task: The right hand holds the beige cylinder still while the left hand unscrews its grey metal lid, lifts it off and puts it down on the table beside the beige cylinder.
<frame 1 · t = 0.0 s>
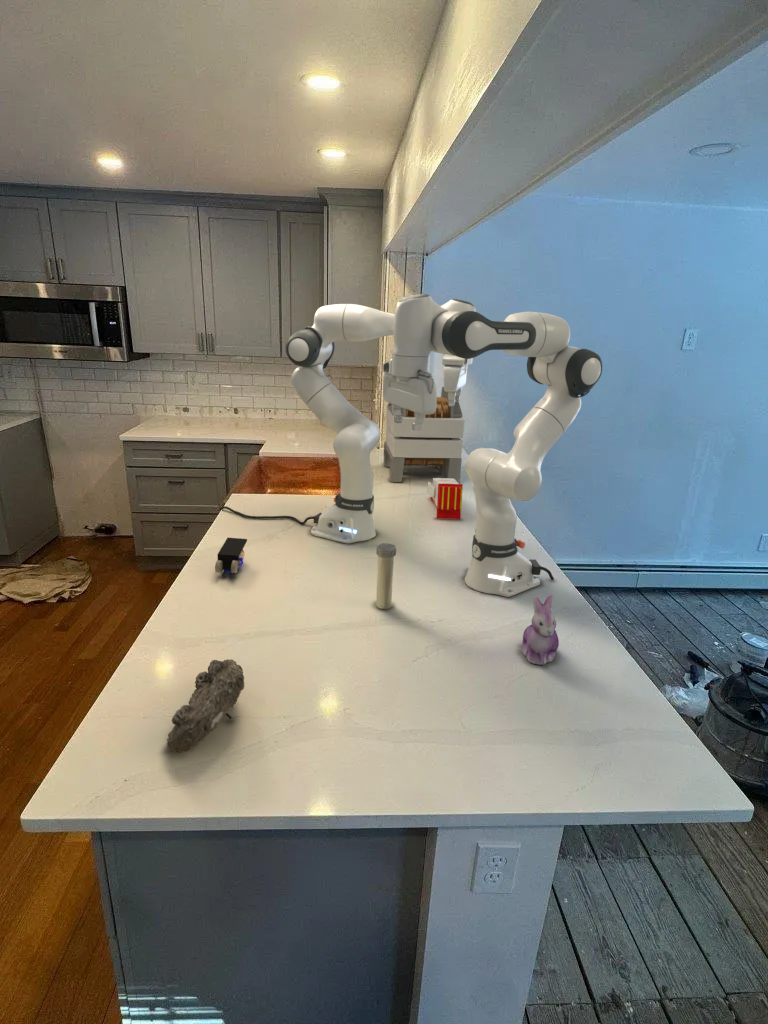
left hand: (454, 403, 174), 48 cm above the counter, tool pointing down, fingers open, 8 cm apart
right hand: (406, 426, 137), 48 cm above the counter, tool pointing down, fingers open, 8 cm apart
lid: (386, 548, 146), point 17 cm above the counter, screwed on, not yet turned
toy: (443, 507, 229), on the counter
figurine character: (232, 569, 168), on the counter
fossil: (212, 717, 108), on the counter
transformer: (419, 473, 275), on the counter
beige cylinder: (383, 605, 152), on the counter
figurine: (539, 655, 133), on the counter
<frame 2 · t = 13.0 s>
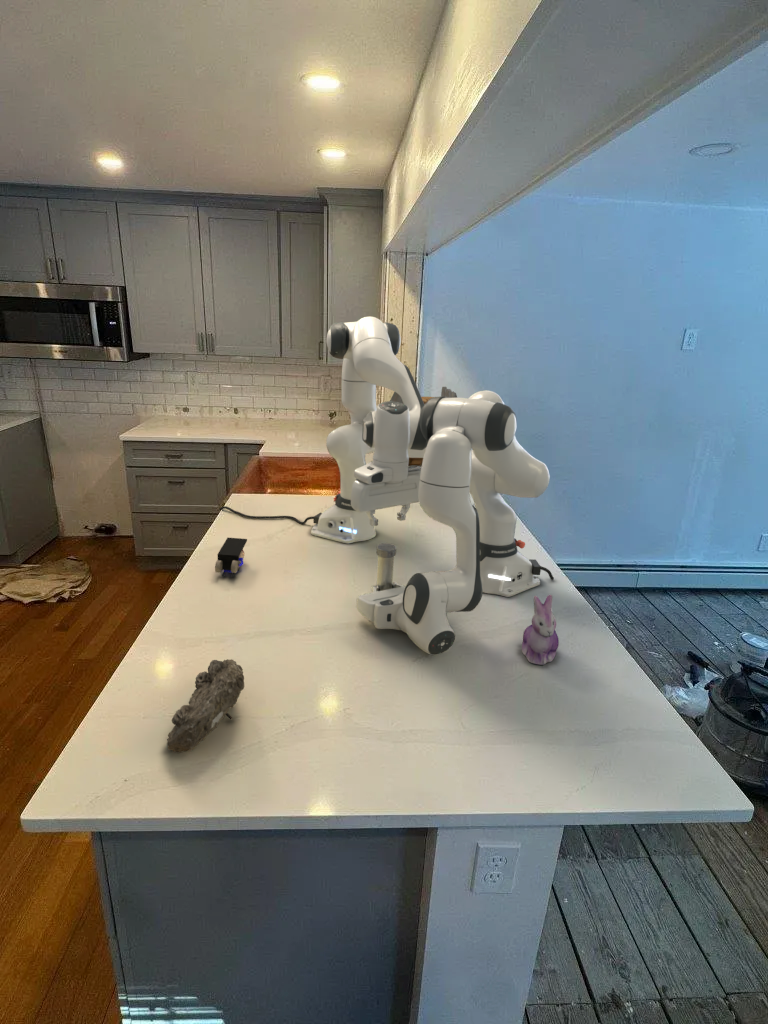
left hand: (387, 522, 144), 24 cm above the counter, tool pointing down, fingers open, 7 cm apart
right hand: (382, 586, 150), 5 cm above the counter, tool horizontal, fingers closed on beige cylinder, 4 cm apart
beige cylinder: (383, 605, 152), on the counter, touching right hand
everything else where it was.
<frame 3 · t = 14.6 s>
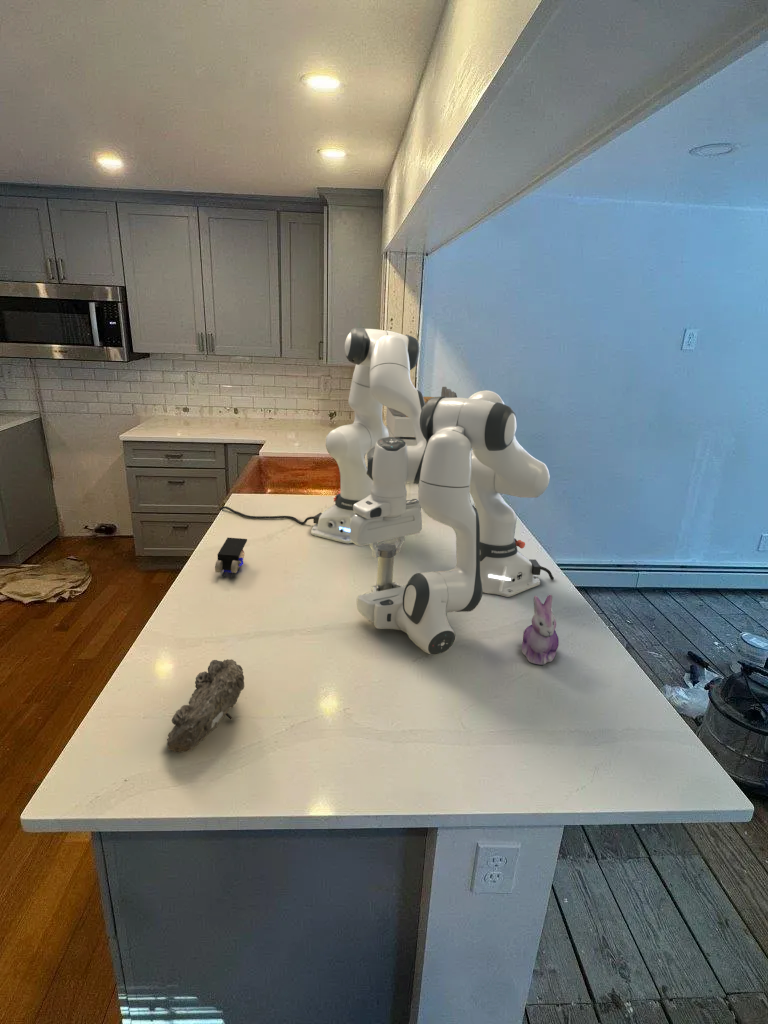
left hand: (386, 554, 146), 15 cm above the counter, tool pointing down, fingers closed on lid, 5 cm apart
right hand: (382, 586, 150), 5 cm above the counter, tool horizontal, fingers closed on beige cylinder, 4 cm apart
lid: (386, 548, 146), point 17 cm above the counter, screwed on, not yet turned, touching left hand
beige cylinder: (383, 605, 151), on the counter, touching right hand
everything else where it was.
when the left hand's fingers open (15 cm above the counter, at t = 16.0 s): lid stays where it is, point 17 cm above the counter.
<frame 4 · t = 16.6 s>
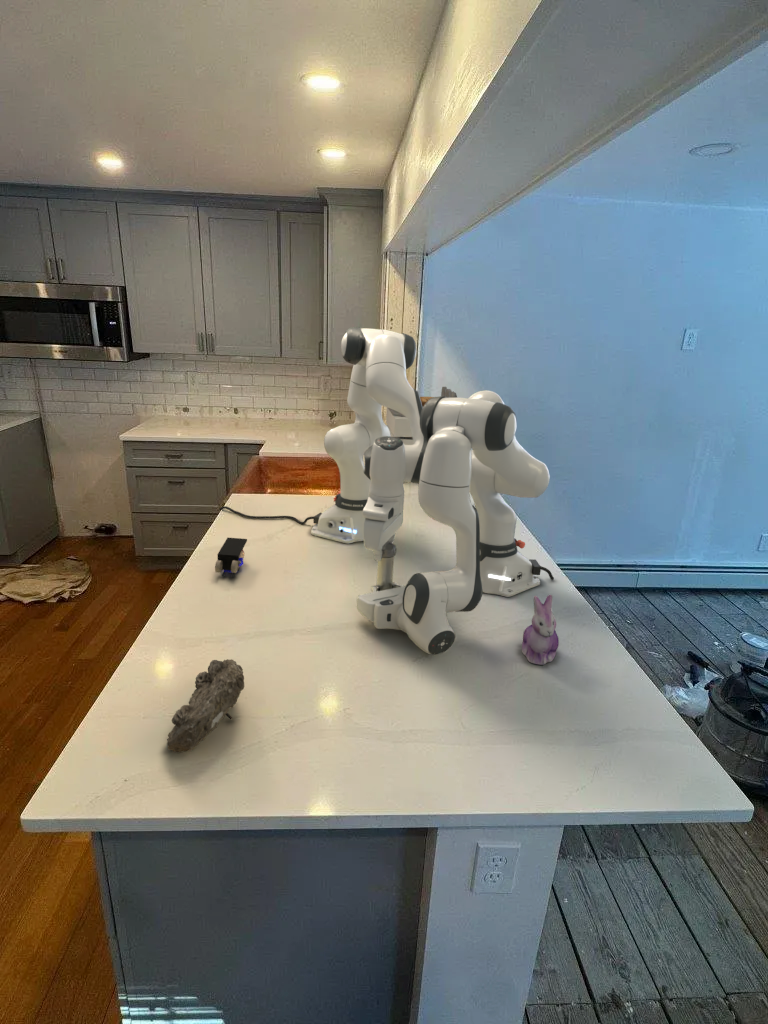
left hand: (383, 553, 146), 15 cm above the counter, tool pointing down, fingers open, 7 cm apart
right hand: (382, 586, 150), 5 cm above the counter, tool horizontal, fingers closed on beige cylinder, 4 cm apart
lid: (386, 547, 146), point 17 cm above the counter, turned 79° so far, risen 0.2 cm, still on its thread
beige cylinder: (383, 605, 152), on the counter, touching right hand
everything else where it was.
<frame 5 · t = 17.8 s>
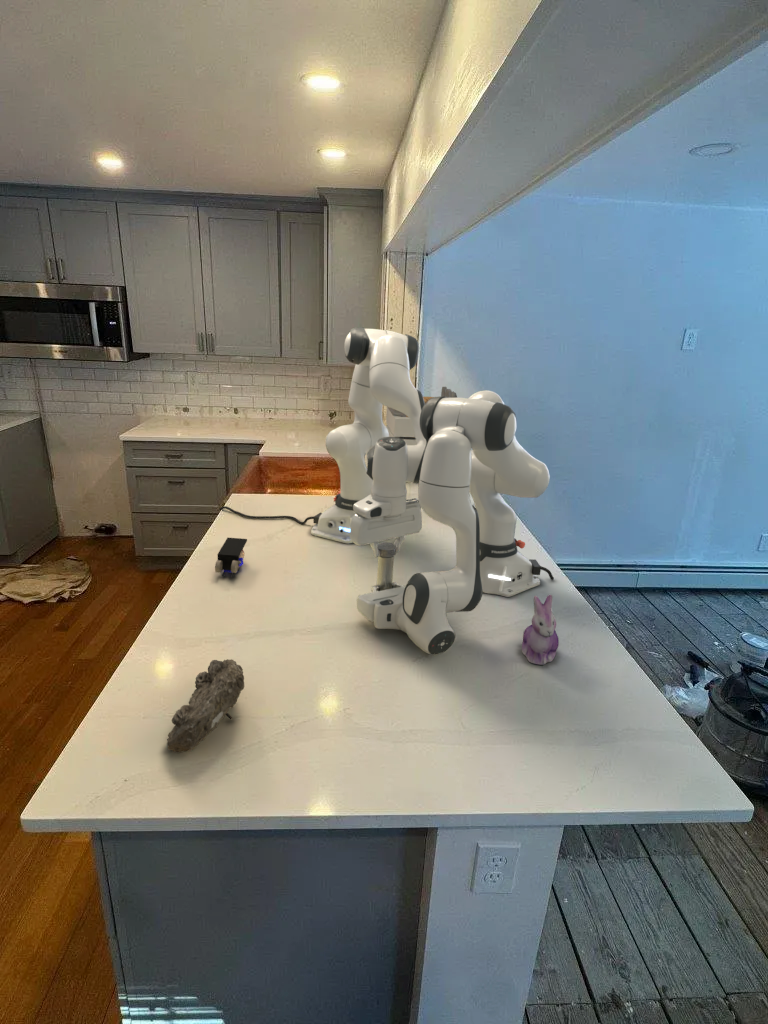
left hand: (386, 553, 146), 15 cm above the counter, tool pointing down, fingers closed on lid, 4 cm apart
right hand: (382, 586, 150), 5 cm above the counter, tool horizontal, fingers closed on beige cylinder, 4 cm apart
lid: (386, 547, 146), point 17 cm above the counter, turned 77° so far, risen 0.2 cm, still on its thread, touching left hand
beige cylinder: (383, 605, 152), on the counter, touching right hand
everything else where it was.
when the left hand's fingers open (2 cm above the counter, at t = 24.1 s): lid drops 2 cm, point 2 cm above the counter.
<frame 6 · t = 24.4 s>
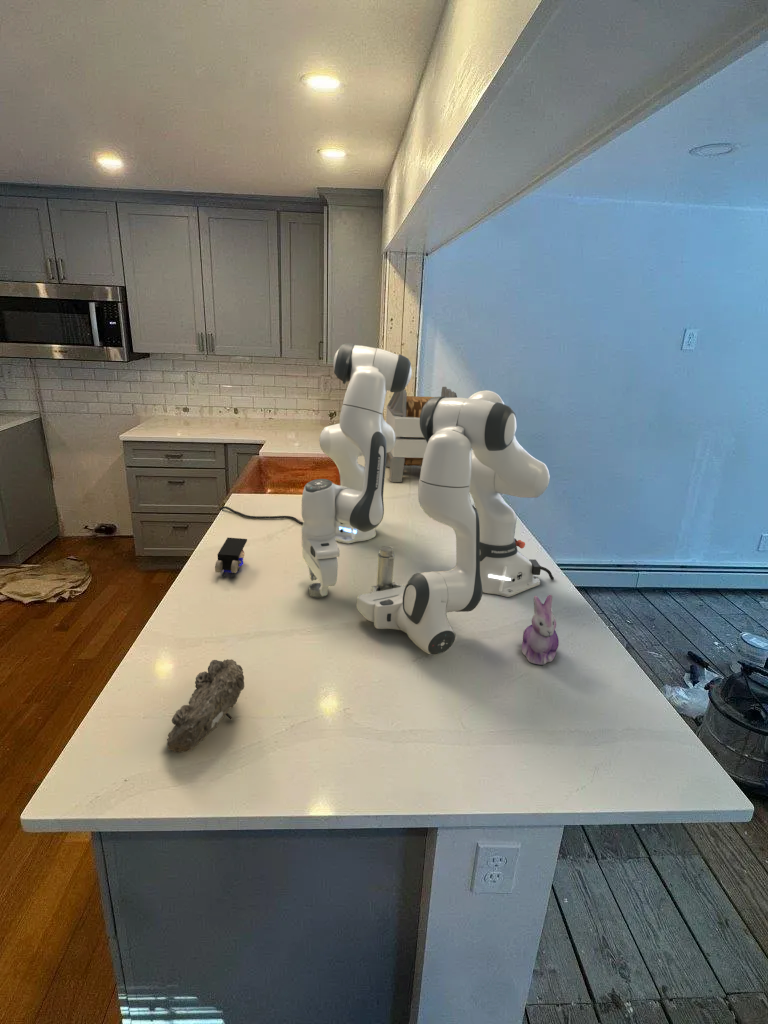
left hand: (318, 586, 155), 2 cm above the counter, tool pointing down, fingers open, 8 cm apart
right hand: (382, 586, 150), 5 cm above the counter, tool horizontal, fingers closed on beige cylinder, 4 cm apart
lid: (318, 588, 156), point 2 cm above the counter, off its thread
beige cylinder: (383, 605, 152), on the counter, touching right hand
everything else where it was.
when the right hand's fingers open (5 cm above the counter, at t = 25.1 s): beige cylinder stays where it is, on the counter.
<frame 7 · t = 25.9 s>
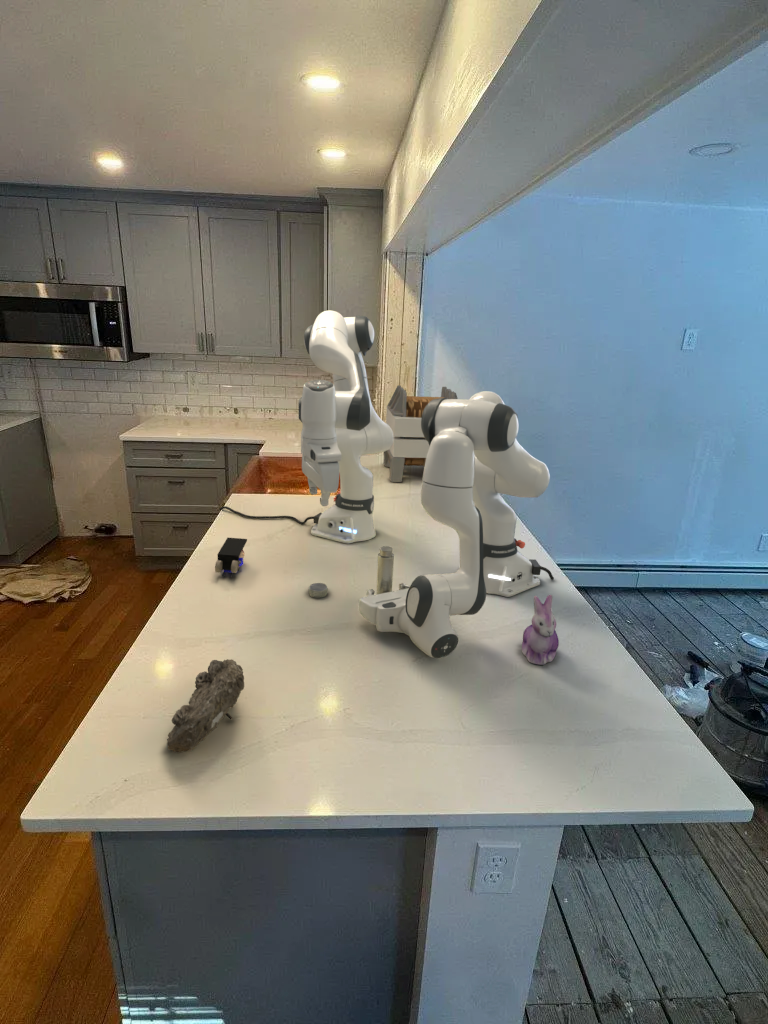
left hand: (318, 499, 147), 27 cm above the counter, tool pointing down, fingers open, 8 cm apart
right hand: (385, 588, 149), 5 cm above the counter, tool horizontal, fingers open, 8 cm apart
beige cylinder: (383, 605, 152), on the counter
everything else where it was.
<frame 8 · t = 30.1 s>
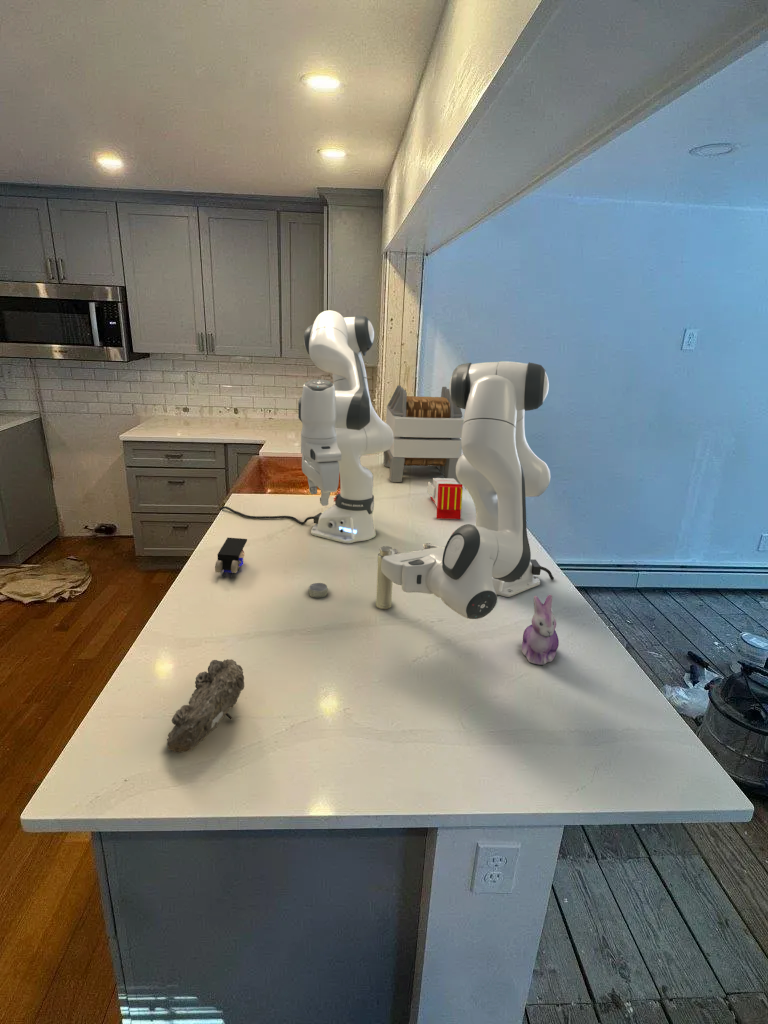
left hand: (318, 499, 147), 28 cm above the counter, tool pointing down, fingers open, 8 cm apart
right hand: (408, 549, 135), 21 cm above the counter, tool horizontal, fingers open, 8 cm apart
nothing on the counter moved.
at the end: lid came off its thread; lid point 1.7 cm above the counter; the left hand is holding nothing; the right hand is holding nothing; beige cylinder tilted 0°; beige cylinder moved 0.0 cm from its start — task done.
